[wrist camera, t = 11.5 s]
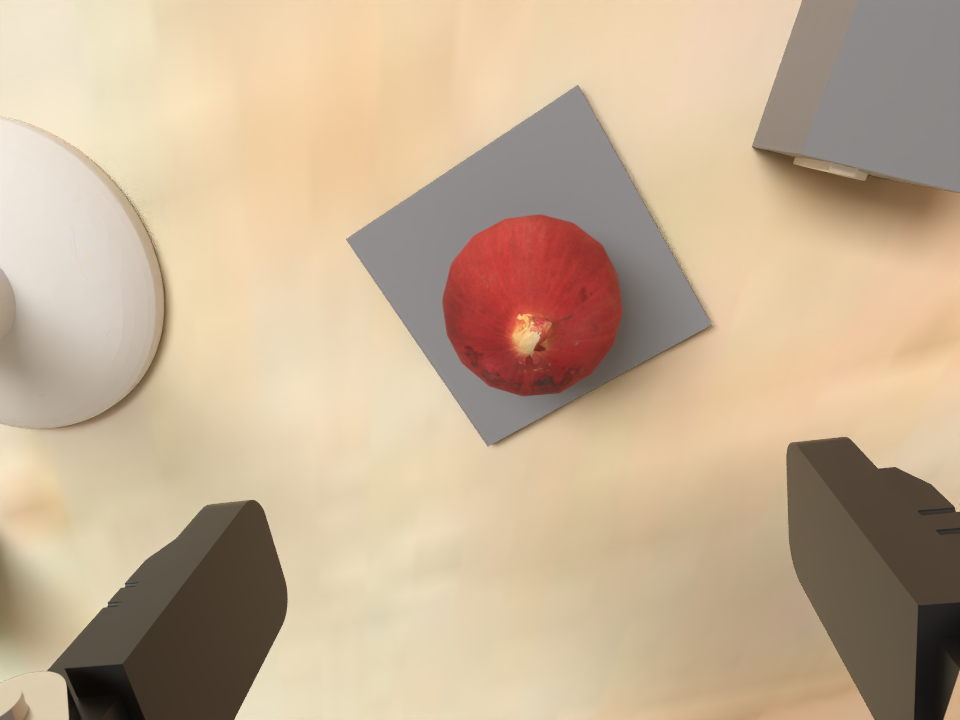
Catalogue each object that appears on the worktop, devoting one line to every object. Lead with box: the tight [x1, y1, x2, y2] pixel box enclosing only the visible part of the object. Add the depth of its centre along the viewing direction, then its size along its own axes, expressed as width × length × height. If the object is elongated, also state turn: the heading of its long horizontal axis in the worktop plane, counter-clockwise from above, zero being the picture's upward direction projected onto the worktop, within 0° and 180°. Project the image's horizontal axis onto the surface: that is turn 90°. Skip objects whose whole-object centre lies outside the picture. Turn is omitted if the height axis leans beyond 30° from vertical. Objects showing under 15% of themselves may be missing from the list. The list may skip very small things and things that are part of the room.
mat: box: [346, 85, 712, 446], centre depth 27 cm, size 10×10×1 cm
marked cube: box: [752, 0, 960, 193], centre depth 22 cm, size 5×5×5 cm
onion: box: [442, 214, 623, 396], centre depth 23 cm, size 6×6×8 cm
